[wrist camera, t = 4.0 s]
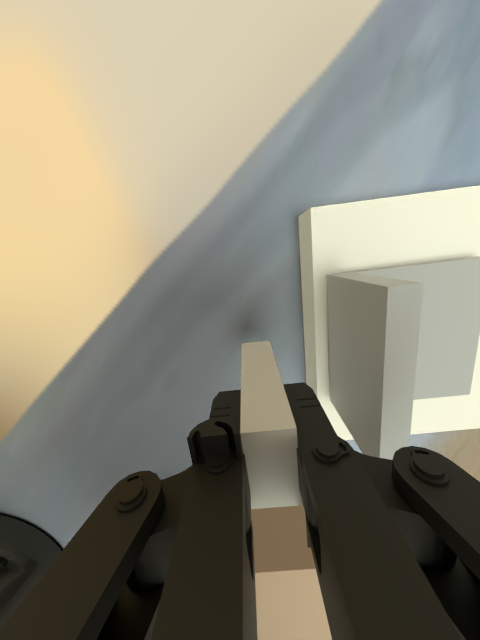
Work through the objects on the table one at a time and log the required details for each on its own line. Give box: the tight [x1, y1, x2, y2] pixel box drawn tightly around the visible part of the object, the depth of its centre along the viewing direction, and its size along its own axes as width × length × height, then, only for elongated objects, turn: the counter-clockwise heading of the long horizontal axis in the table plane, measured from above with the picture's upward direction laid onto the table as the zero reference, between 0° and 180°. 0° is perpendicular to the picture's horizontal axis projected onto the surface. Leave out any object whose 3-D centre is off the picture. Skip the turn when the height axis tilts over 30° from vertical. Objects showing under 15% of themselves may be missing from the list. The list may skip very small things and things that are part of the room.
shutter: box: [328, 256, 480, 460], centre depth 12 cm, size 8×8×6 cm
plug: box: [251, 497, 332, 640], centre depth 17 cm, size 6×6×10 cm
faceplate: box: [298, 185, 480, 440], centre depth 16 cm, size 16×16×3 cm
